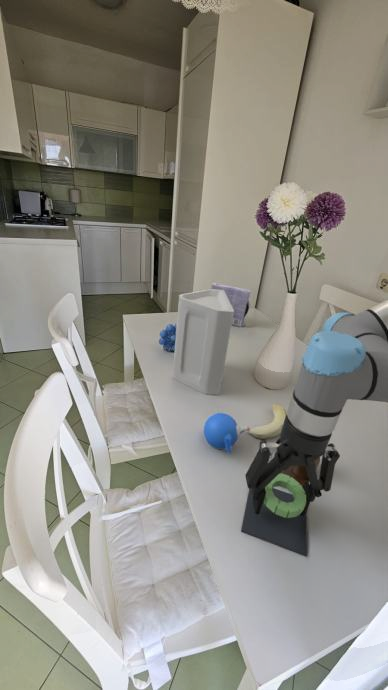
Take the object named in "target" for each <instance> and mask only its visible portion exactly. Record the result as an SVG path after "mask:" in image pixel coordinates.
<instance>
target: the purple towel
mask: <svg viewBox="0 0 388 690" xmlns="http://www.w3.org/2000/svg"><path fill="white" fill-rule="evenodd" d="M210 289H216V290H224V291H225V293H226V295H227V298H228V300H229V302H230V304H231V306H232V308H233V310H234V314H233V320H232V325H231V326H233V327H239V328H243V326H244V324H245V319H246V316H247V314H248V313H249V310H250V296H251V289H246V288H241V287H236V286H233V285H227V284H223V283H218V282H213V283H211V287H210Z"/></svg>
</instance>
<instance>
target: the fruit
mask: <svg viewBox="0 0 388 690" xmlns="http://www.w3.org/2000/svg"><path fill="white" fill-rule="evenodd" d="M272 414H273V419H272V421H271V422H270V423H268V424H265V425H260V426H255V427H253V428H250V430H249V431H246V432H247V433H248V434H250V435H251V436H253V437H254V438H256V439H261V440H265V439H271V438H275V437H276V436H278V435H281V430H282V427H283V424H284V420H285V417H286V415H287V412H286V410H285V408H284V407H283V406H282V405H281V404H278V403H275V402H274V403H273V404H272Z"/></svg>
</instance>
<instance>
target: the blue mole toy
mask: <svg viewBox="0 0 388 690" xmlns="http://www.w3.org/2000/svg"><path fill="white" fill-rule="evenodd" d="M250 429H251V427H250V426H241V425H238V423H237V422H236V418H234V417H233V416H231V414H228V413H225V412H216V413H213V414H212V415H210V416H209V417H208V418H207V420H206V421H205V423H204V426H203V434H204V438H205V441H206V442H207V444H209V446H210V447H212V448H213V449H216V450H226V453H227V454H231V452H232V446H233V445H235V444H236V442H237V440H238V438H239V437H240V436H242V435H243V434H244V433H245V432H247V431H249V430H250Z"/></svg>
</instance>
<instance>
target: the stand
mask: <svg viewBox="0 0 388 690" xmlns="http://www.w3.org/2000/svg"><path fill="white" fill-rule="evenodd" d="M320 462H321V457H319V458H318V459H316V460H315V461H314V463H315V467H316V471H317V470H318V467H319V465H320ZM281 473H282V474H285V475H288V476H290V478H291V477H292V478H293V479H295V480H296V481H297V482H299V483H300V484H299V485H301V486H302V487H303V484H304V482H309V478H308V474H307V470H306V466H298V465H295V466H290V467H289V468H288V469H287V470H286V471H284V470H282V471H281V472H280V473H279V474H281ZM309 483H310V482H309Z"/></svg>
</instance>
